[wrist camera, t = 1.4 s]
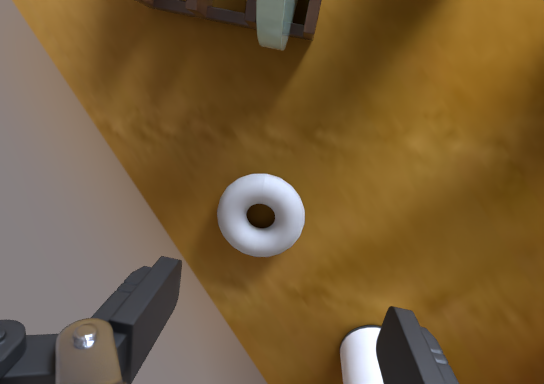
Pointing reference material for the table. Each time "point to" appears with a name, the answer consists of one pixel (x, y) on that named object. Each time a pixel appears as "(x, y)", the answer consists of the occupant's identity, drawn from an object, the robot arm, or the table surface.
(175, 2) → the rack
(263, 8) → the plate
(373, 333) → the mug
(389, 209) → the table surface
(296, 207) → the donut
